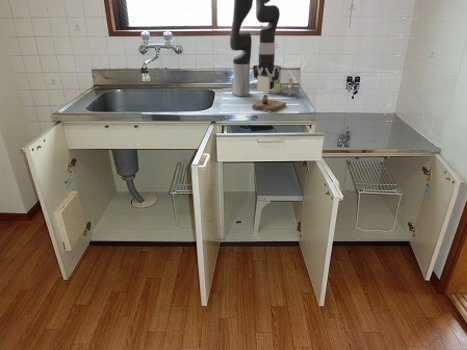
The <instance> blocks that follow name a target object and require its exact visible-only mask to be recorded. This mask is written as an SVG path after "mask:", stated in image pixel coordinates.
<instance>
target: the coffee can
mask: <svg viewBox="0 0 467 350" xmlns="http://www.w3.org/2000/svg"><path fill="white" fill-rule="evenodd" d="M274 66H275V67H277V68H278V67H279V68H280V71H279V77H278V80H276V81H274V90H272V91H270V92H263V93H264V94H271V95H273V94H279V93H280V92H281V91H280V90H281V75H282V66H281V65H276V64H274ZM273 74H275V72H274V70H273Z"/></svg>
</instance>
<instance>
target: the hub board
mask: <svg viewBox="0 0 467 350" xmlns="http://www.w3.org/2000/svg"><path fill="white" fill-rule="evenodd" d="M262 101H263V99H262V100H261V101H258V102H256V103H252V106H251V107H252V109H253V110H258V111H262V110H265V111H264V112H267V111H271V112H270V113H272V112H274V111H276V112H278V111H279V109H280V110H282V109H283V108H285V107H287V102H286V101H280V100H275V99H274V100H273V99H269V98H268V104H262ZM277 110H278V111H277ZM274 113H275V112H274Z"/></svg>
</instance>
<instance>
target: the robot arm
mask: <svg viewBox="0 0 467 350" xmlns="http://www.w3.org/2000/svg"><path fill="white" fill-rule="evenodd" d="M270 1H271V0H255V6H256V8H255V9H256V10H255V16H256V19H257V21H258V22H259V23H261V24H267V23H268V24H267V26H266V27H264V28H261V29H260V30H259V42H258V43H259V45H258V65H257V64H255V65H253V66H252V69H253V78H254V79H256V80H257V76H261V75H263V74H266V75H268V77H270V81H271V82H270V89H273V88H274V81H276V80H278V77H279V71H280V68H279V67H278V68H277V67H275V66H274V65H275V54H276V45H275V43H276V35H275V34H276V30H277V27H278V24H279V20H280V16H281V15H280V14H281V13H280V9H279V7H278V6H277V5H275V4H273V5H270V4H269V5H267V4H268V3H269V2H270ZM253 2H254V0H233V15H232V16H233V17H232V24H231V30H230V37H229V45H230V48H231V50H232V51H237V52H238V51H241V53H239V54H238V55H236V56H234V57H233V60H232V61H233V62H232V64H233V70H232V71H233V73H232V74H233V76H232V77H231V95H233V96H237V97H246V96H250V92H251V91H250V89H251V88H250V83H251V81H250V80H251V79H250V77H251V75H250V74H251V57H252V55H251V54H252V42H253V41H252V40H253V39H252V35H251V33H250V31H241V27H242V24H243V22H244V20H245V19H246V18H247V16H248V15H249V14H250V11H251V10H252V9H253ZM265 4H266V5H265ZM273 70H274V72H275V74H273Z"/></svg>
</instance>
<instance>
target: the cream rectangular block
mask: <svg viewBox="0 0 467 350" xmlns="http://www.w3.org/2000/svg"><path fill="white" fill-rule="evenodd" d="M256 80H257V81H256V84H257V85H256V86H257V87H256V90H257V91H258V92H263V93H264V92H270V91H272V90H274V88H273V89H270V82H271V81H270V77H268V75H266V74H263V75H261V76H257V79H256Z"/></svg>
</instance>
